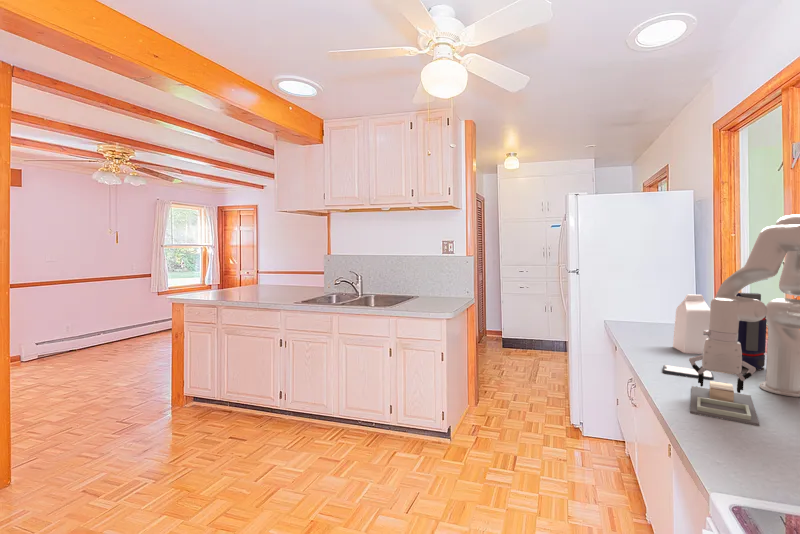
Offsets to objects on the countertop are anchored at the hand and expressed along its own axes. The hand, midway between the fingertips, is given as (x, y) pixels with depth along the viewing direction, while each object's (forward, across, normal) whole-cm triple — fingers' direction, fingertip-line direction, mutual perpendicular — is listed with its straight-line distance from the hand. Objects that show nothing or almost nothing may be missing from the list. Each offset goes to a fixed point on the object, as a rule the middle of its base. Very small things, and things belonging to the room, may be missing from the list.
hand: (719, 388), depth 139 cm
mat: (+4, 0, -5) cm, 7 cm away
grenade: (+2, +10, +49) cm, 50 cm away
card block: (+3, 0, +1) cm, 3 cm away
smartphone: (+4, -9, +26) cm, 28 cm away
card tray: (+4, 0, -12) cm, 12 cm away
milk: (+2, -8, +68) cm, 68 cm away
